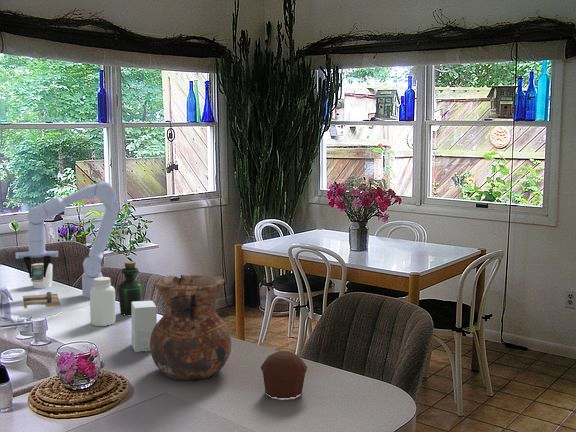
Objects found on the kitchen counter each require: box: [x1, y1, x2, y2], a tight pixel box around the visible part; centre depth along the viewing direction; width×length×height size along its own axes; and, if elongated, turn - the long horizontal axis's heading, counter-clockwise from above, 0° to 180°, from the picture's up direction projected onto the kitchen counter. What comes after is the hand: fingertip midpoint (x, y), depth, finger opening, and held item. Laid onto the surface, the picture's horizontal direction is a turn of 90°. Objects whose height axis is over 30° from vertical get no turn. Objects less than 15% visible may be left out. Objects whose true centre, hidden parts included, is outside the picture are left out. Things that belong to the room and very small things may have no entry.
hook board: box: [22, 291, 62, 309], centre depth 242 cm, size 19×12×5 cm, turn 23°
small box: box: [130, 300, 158, 353], centre depth 195 cm, size 8×6×13 cm
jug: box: [149, 274, 233, 381], centre depth 175 cm, size 22×21×25 cm
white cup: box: [31, 262, 53, 289], centre depth 265 cm, size 8×8×10 cm
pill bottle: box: [89, 276, 117, 327], centre depth 219 cm, size 8×8×15 cm
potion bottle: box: [117, 260, 143, 315], centre depth 232 cm, size 8×8×18 cm
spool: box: [30, 264, 44, 283], centre depth 245 cm, size 4×4×6 cm
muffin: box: [260, 350, 308, 398], centre depth 163 cm, size 12×11×10 cm
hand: (37, 277), depth 245 cm, fingers closed on spool, 4 cm apart
